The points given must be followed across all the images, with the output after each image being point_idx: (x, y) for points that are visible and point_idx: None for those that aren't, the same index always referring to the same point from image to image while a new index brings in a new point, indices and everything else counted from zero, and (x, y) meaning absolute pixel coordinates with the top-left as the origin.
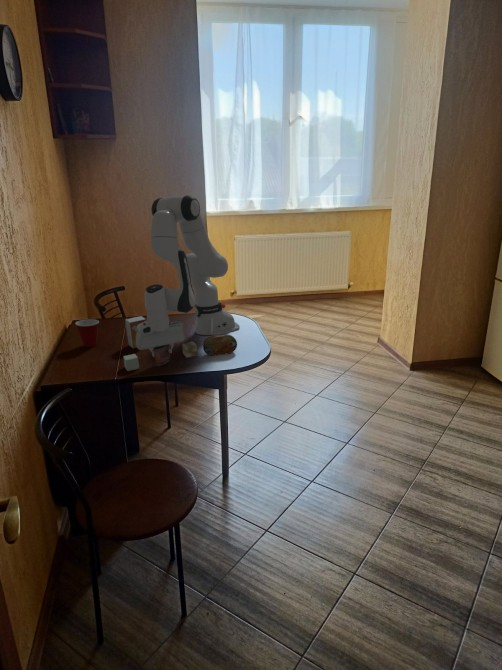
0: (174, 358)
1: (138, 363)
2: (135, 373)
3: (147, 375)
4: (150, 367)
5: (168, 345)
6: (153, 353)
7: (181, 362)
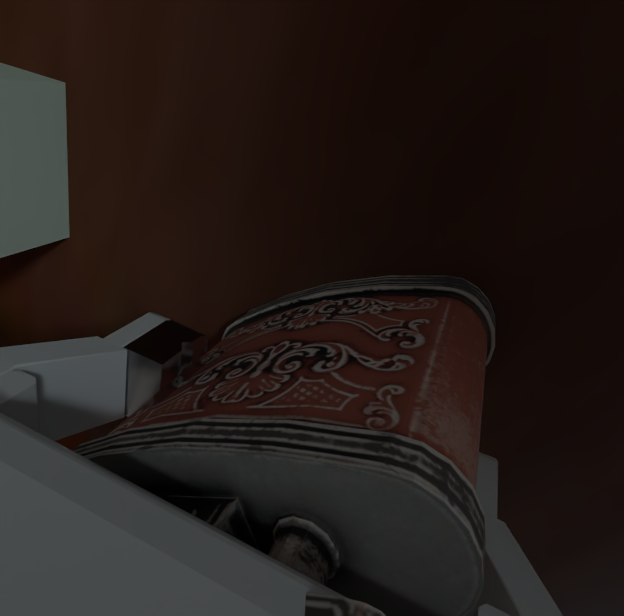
0: (576, 356)
1: (7, 254)
2: (20, 312)
3: (96, 435)
4: (170, 319)
5: (426, 597)
6: (108, 406)
7: (524, 530)
